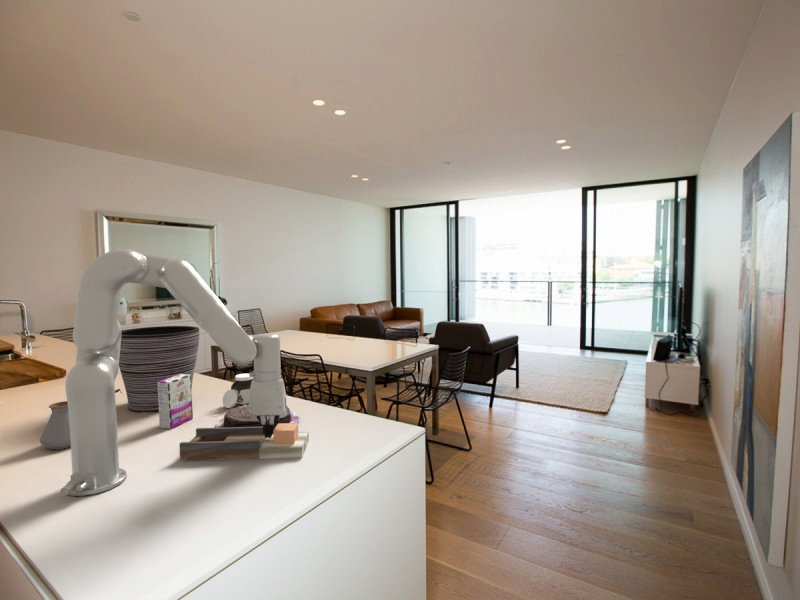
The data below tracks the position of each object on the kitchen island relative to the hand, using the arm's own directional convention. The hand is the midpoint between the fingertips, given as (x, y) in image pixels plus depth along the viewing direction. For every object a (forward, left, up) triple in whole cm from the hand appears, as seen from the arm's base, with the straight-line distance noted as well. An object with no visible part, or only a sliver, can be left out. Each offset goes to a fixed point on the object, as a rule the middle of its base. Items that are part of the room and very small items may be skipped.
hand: (268, 436), depth 127 cm
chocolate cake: (+23, +9, -5) cm, 25 cm away
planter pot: (+49, +55, -4) cm, 74 cm away
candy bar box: (+25, +38, -4) cm, 46 cm away
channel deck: (0, +6, -4) cm, 7 cm away
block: (0, -5, -1) cm, 5 cm away
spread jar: (+45, +22, -4) cm, 50 cm away
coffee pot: (+11, +60, -4) cm, 61 cm away
